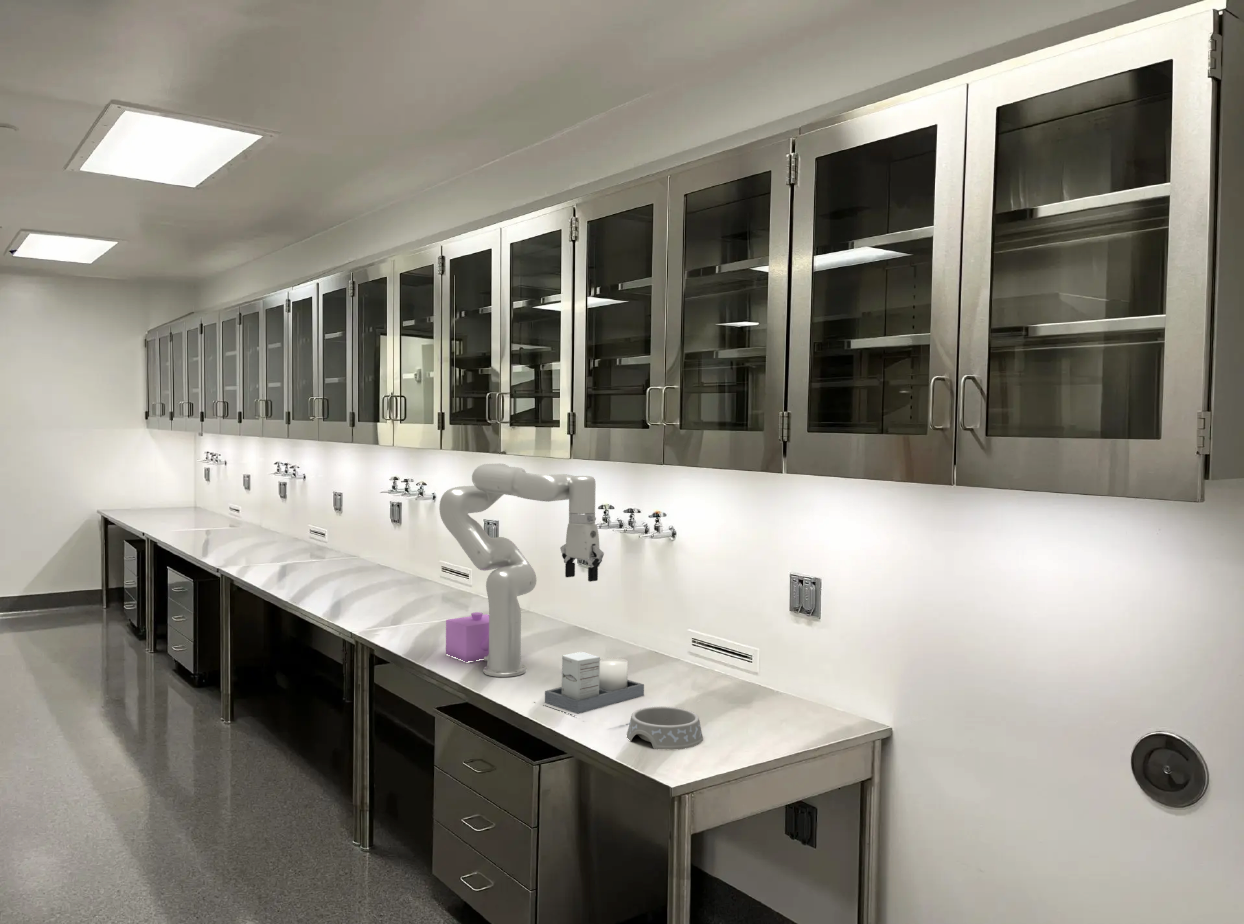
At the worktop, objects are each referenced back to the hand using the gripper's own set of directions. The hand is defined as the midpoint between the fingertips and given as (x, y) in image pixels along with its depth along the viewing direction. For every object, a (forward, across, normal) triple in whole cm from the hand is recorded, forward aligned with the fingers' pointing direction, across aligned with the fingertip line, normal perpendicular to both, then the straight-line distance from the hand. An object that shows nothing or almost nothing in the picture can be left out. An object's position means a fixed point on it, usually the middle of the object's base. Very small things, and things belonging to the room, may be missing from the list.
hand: (581, 578), depth 259 cm
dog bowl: (+31, -47, +15) cm, 58 cm away
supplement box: (+30, -16, +15) cm, 37 cm away
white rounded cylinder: (+29, -16, +2) cm, 33 cm away
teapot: (+31, +46, +3) cm, 55 cm away
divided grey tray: (+30, -16, +9) cm, 35 cm away
